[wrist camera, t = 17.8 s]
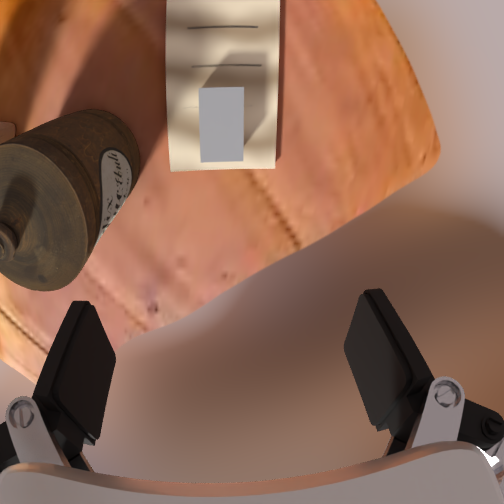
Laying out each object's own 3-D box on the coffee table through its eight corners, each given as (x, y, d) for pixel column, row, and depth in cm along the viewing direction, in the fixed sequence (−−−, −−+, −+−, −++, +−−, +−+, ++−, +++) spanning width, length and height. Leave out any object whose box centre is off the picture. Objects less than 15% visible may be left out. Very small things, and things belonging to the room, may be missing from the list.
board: (169, -9, 24) (167, -12, 22) (277, -11, 25) (280, -14, 24) (172, 168, 37) (170, 171, 35) (273, 165, 38) (275, 168, 36)
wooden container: (111, 229, 40) (51, 344, 22) (35, 181, 34) (-59, 265, 16) (162, 143, 35) (98, 220, 16) (73, 90, 29) (-48, 122, 10)
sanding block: (201, 87, 30) (198, 88, 26) (241, 86, 31) (244, 87, 26) (203, 152, 34) (200, 162, 30) (240, 150, 35) (243, 161, 31)
